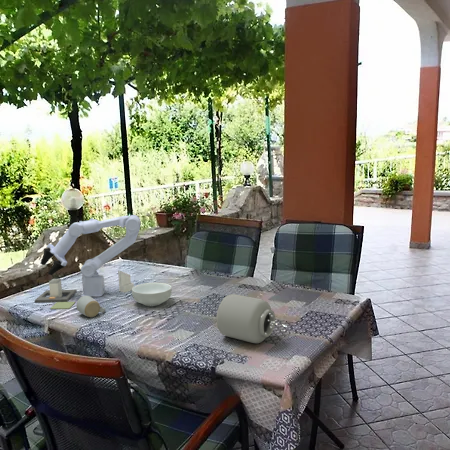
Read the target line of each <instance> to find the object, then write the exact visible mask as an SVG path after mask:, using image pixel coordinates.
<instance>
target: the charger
mask: <svg viewBox="0 0 450 450" xmlns="http://www.w3.org/2000/svg"><path fill="white" fill-rule="evenodd" d="M48 286H49V287H48V288H49V290H50V295H49V297H63V295H62V290H63V288H62V287H63V286H62V278H52V279H51V280H49V281H48Z"/></svg>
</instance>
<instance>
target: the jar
mask: <svg viewBox="0 0 450 450" xmlns="http://www.w3.org/2000/svg"><path fill="white" fill-rule="evenodd" d="M275 325H276V326H277V325H278V323H276V314H275V311H274V310H273V309H272V308H271V305H270V303H269V302H268V301H267V300H264V299H261V298H256V297H252V296H251V297H250V296H246V295H240V294H235V293H231V294H228V295H226V296H225V297H224V298H222V299H221V302H220V303H219V305H218V307H217V312H216V326H217V329H218V331H219V332H220V334H221V335H222V336H224V337H228V338H232V339H236V340H240V341H244V342H247V343H251V344H259V343H262V342H263V341H265V339H266V338H268V337H270V336H271V335H272V334H273V332H274V330H275ZM281 325H282V326H283V327H285V328H287V327H288V326H287V325H285V324H281ZM281 331H284V332H285V331H286V329H283V330H282V329H281Z"/></svg>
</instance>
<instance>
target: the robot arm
mask: <svg viewBox="0 0 450 450" xmlns="http://www.w3.org/2000/svg"><path fill="white" fill-rule="evenodd" d="M115 226H116V227H117V226H119V227H121V228H125V236H124V237H122V238H121V239H120V240H117V242H115V243H114V244H112V245H110V246H109V247H108V248H107V249H106V250H104V251H103V252H101V253H100V254H99V255H96V256H94V257H93V258H89V259H86V260H85V262H84V263H83V265H82V266H81V267H80V273H81V283H82V294H80V297H79V298H81V297H82V296H90V297H92V298H93V297H94V298H95V297H96V298H98V297H102V296H103V295H104V293H105V292H106V290H105V289H106V286H105V278H104V275H102V274H99V273H98V270H99V269H101V267H102V266H103V265H105V264H106V263H108V262H109V261H111V260H112V259H114V258H115V257H116V256H118V255H119V254H121V253H122V252H124V251H125V250H126V249H127V248H129V247H131V246H132V245H133V244H135V243H136V241H137V237H138V235H139V232H140V230H141V218H140V217H139V216H138V215H137V214H130V215H120V216H116V217H112V218H108V219H104V220H98V219H97V218H95V219H94V217H92V218H89V220H83V221H82V220H79V222H78V221H77V222H73V223H72V224H71V225H70V226H69V227H68V230H66V232H64V234H63V235H62V237H61V238H60V239H59V241H58V242H57V243H56V245H55V246H54V244H51V243H48V244H47V245H46V247H45V248H44V249H43V256H42V259H41V261H40V265H42V266H46V264H47V263H48V262H49V260H51V258H53V257H55V258H56V259H57V260H54V261H53V263H52V266H51V268H50V269H49V270H48V272H47V275H50V276H53V275H54V274H55V273H56V272H58V271H59V270H61V269H64V268H65V267H66V266H67V264H68V261H67V259H66V257H65V256H66V254H67V253H68V252H69V251H70V249H71V248H72V246H73V245H74V244H75V242H76V240H77V239H78V237H80V236H81V235H87V234H91V233H92V234H93V233H96V232H99V231H100V230H101V229H103V228H104V229H105V228H109V227H115Z"/></svg>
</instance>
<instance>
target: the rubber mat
mask: <svg viewBox="0 0 450 450" xmlns="http://www.w3.org/2000/svg"><path fill="white" fill-rule="evenodd" d="M75 304H76V301H67V302H54V304H53V305H52V306H51V307H50V308H49V309H50V310H71V308H72V307H73V306H74V305H75Z"/></svg>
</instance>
